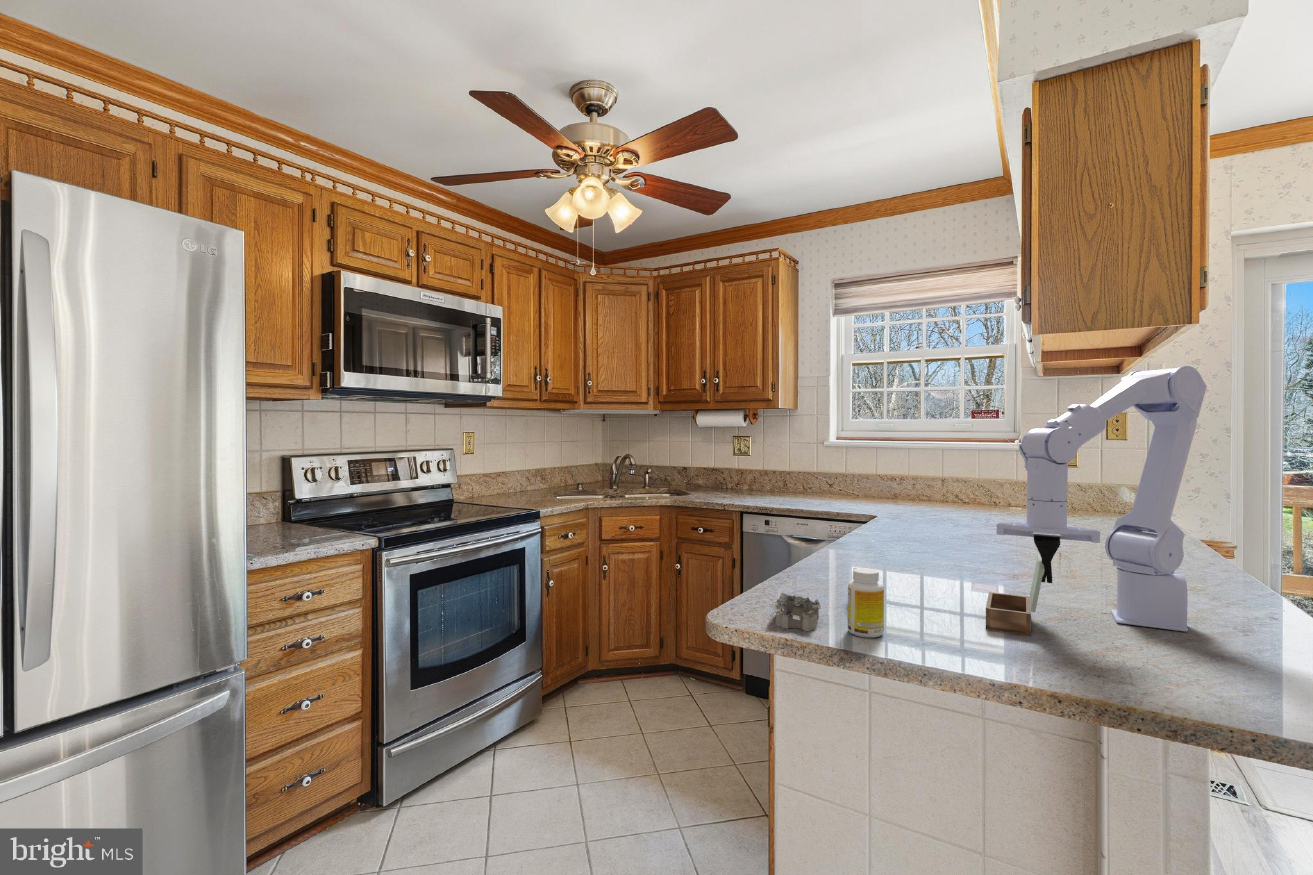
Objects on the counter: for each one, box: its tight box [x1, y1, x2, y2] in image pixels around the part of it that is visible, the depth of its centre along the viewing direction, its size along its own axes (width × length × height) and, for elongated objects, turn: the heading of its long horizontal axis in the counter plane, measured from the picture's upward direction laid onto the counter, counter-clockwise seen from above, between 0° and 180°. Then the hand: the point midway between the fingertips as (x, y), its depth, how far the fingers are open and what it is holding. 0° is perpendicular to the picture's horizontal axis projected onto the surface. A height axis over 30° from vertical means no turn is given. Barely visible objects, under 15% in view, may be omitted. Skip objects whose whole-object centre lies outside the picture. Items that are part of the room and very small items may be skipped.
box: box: [985, 591, 1032, 637], centre depth 106 cm, size 6×12×4 cm, turn 150°
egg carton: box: [772, 592, 821, 632], centre depth 108 cm, size 11×8×4 cm
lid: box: [1029, 554, 1044, 613], centre depth 104 cm, size 7×12×1 cm
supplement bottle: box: [847, 567, 885, 639], centre depth 101 cm, size 6×6×10 cm
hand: (1045, 581), depth 103 cm, fingers closed, pressing on lid
